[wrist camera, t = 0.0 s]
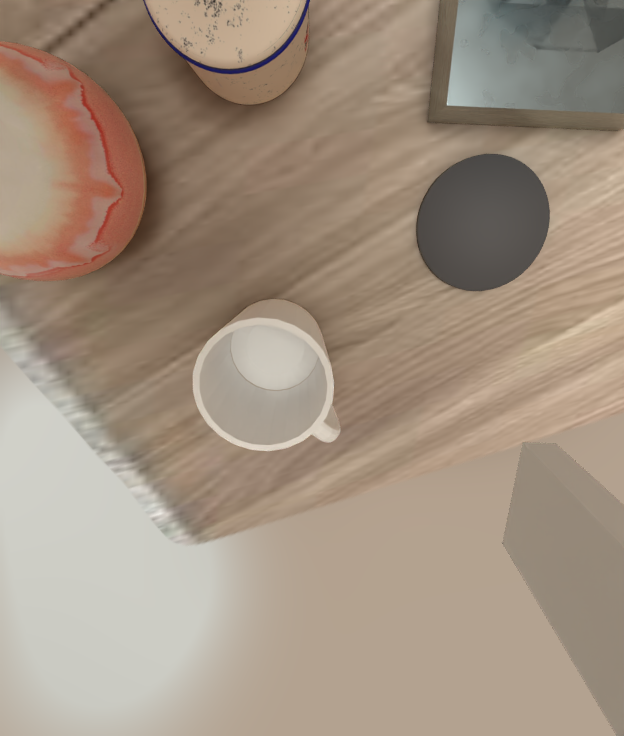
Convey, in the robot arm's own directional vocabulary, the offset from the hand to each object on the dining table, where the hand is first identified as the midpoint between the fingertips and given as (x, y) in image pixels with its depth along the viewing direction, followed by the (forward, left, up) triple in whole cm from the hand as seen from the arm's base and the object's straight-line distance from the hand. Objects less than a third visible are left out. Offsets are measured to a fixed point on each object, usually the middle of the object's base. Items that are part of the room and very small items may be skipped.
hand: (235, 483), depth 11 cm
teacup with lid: (-19, -4, -28) cm, 34 cm away
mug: (+5, 0, -28) cm, 29 cm away
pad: (-6, +15, -28) cm, 32 cm away
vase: (-8, -16, -28) cm, 34 cm away
